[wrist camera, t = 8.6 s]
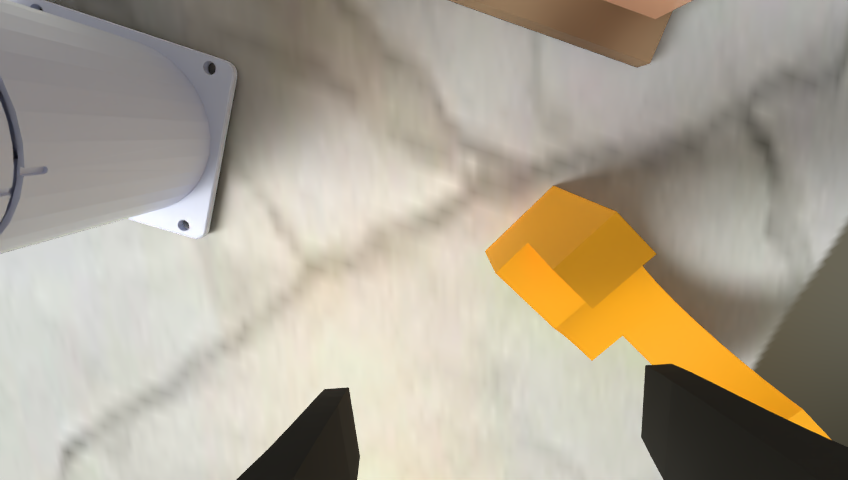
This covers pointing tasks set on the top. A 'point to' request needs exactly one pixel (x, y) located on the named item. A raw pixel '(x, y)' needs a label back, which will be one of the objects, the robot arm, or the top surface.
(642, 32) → the board
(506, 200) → the top surface
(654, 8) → the socket
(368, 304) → the top surface
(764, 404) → the orange piece
